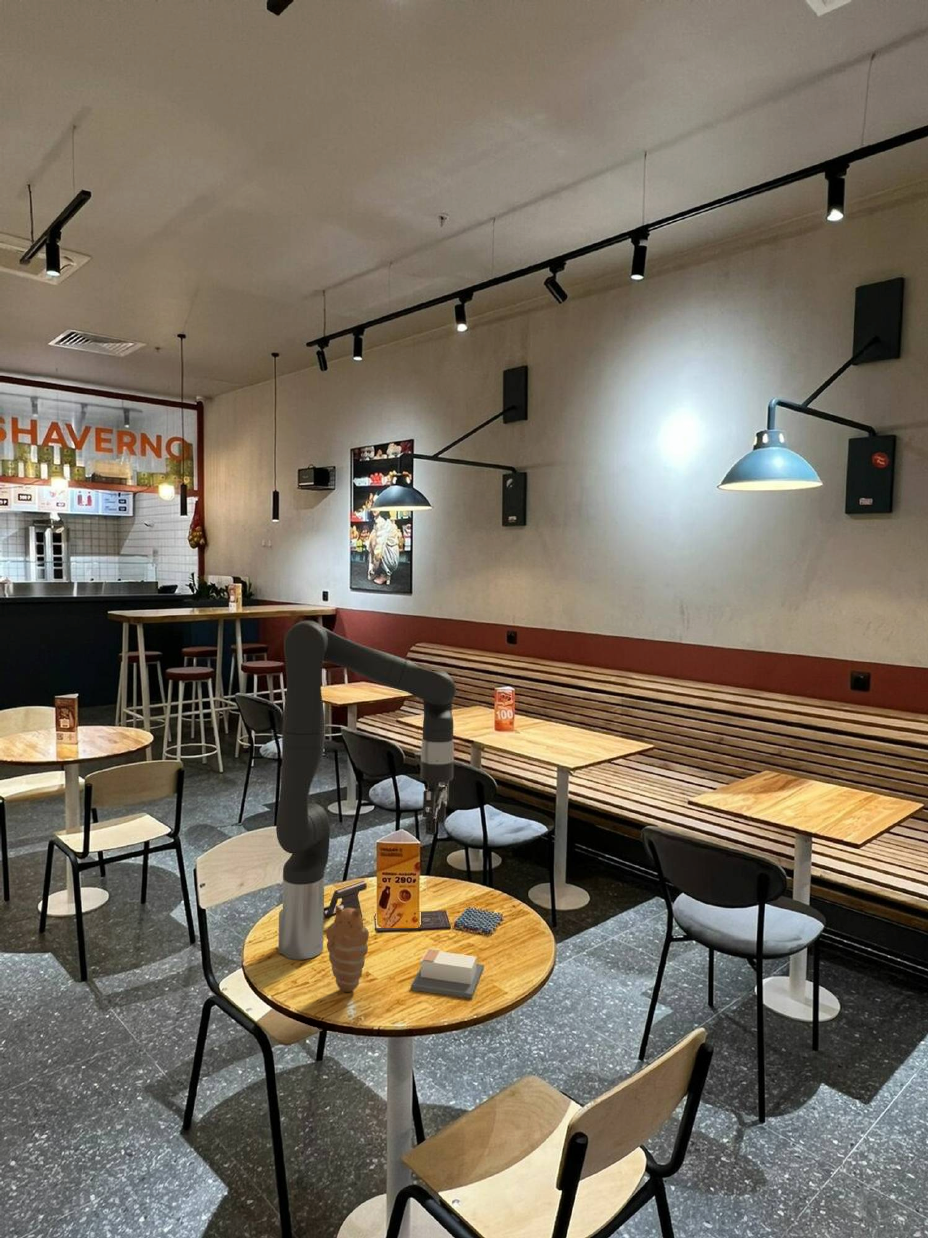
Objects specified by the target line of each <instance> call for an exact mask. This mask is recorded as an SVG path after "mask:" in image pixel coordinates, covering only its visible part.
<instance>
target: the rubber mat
mask: <svg viewBox="0 0 928 1238" xmlns="http://www.w3.org/2000/svg"><path fill="white" fill-rule="evenodd" d="M484 969H485V966H484V964H481V963H480V964H479V963H476V974H475V976H474V979H473V981H472V984H465V983H458V982H452V981H445V980H439V979H432V978H426V977H421V967H420V968H419V970H418V972H417V974H416V976H415V977H414V979H413V981H412V983H411V985H410V987H411V988H410V990H411V991H412V990H413V991H419V992H425V993H431V994H438V995H445V996H452V997H457V996H459V997H458V998H464V997H465V999H470V998H472V999H473V997H474V994H475V992H476V989H477V987H478V984H479V982H480V979H481V977H482V974H483V972H484ZM460 996H461V997H460Z"/></svg>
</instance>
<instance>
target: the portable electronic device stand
mask: <svg viewBox="0 0 928 1238" xmlns="http://www.w3.org/2000/svg"><path fill="white" fill-rule="evenodd" d="M367 887H368V886H367V882H366V881H365V880H362V881H358V882H357V883H353V884H351V885H348V886H345V887H342V888H339V889H336V890H334V891H333V894H332V897H331V900H330V903H329V905H326V906H324V916H325V917H324V918H327V917H328V916H329V917H330V916H333V915H336V910H335V909H336V906H338V907H340V908H341V909H345V908H354V909H358V908H360V909H361V903H360V900H359V899H360V898H359V893H360V892H361V891H366V890H367ZM340 899H341V901H340V904H338V905H337V903H338V900H340ZM361 910H362V909H361ZM360 915H361V917H362V918H363V912H362V911H361V912H360ZM329 917H328V918H329Z"/></svg>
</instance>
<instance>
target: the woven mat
mask: <svg viewBox="0 0 928 1238" xmlns="http://www.w3.org/2000/svg"><path fill="white" fill-rule="evenodd" d="M504 920H505V918H504V917H503V913H501V912H494V911H489V910H488V909H486V910H483V909H482V908H480V909H477V907H474V908H473V907H472V908H471V906H468V907H467V908H465V909H464V911H462V913H461V914H460V915H458V917H457V918H455V920H454V921H453V922H454V923H453V928H452V929H454V930H455V929H456V930H460V931H464V932H470V933H474V934H479V935H480V934H481V935H484V936H487V937H492V936H493V934H494V933H495V932H496V930H497V929H498V926H499V925H501V924H502V923H503V921H504ZM501 922H502V923H501ZM498 923H499V924H498Z"/></svg>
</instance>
